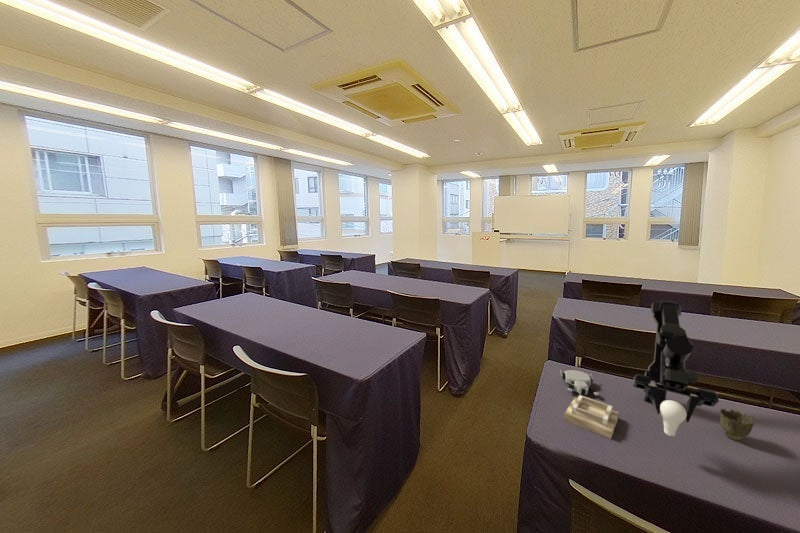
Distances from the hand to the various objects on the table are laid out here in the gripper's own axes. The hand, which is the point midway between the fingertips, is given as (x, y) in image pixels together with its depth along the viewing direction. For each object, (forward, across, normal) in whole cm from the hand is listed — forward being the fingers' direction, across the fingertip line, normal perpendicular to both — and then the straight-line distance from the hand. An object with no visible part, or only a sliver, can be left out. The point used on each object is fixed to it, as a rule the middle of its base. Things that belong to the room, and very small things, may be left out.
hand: (672, 417), depth 89 cm
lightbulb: (+4, 0, +6) cm, 7 cm away
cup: (-7, +19, +26) cm, 33 cm away
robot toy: (-10, -26, +30) cm, 41 cm away
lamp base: (+4, -20, +15) cm, 25 cm away
